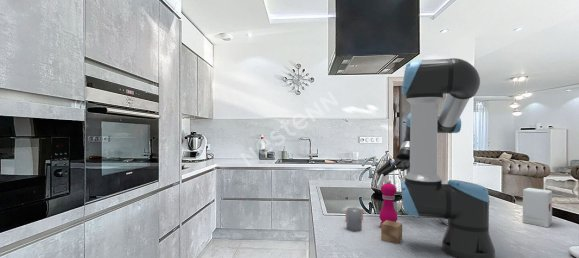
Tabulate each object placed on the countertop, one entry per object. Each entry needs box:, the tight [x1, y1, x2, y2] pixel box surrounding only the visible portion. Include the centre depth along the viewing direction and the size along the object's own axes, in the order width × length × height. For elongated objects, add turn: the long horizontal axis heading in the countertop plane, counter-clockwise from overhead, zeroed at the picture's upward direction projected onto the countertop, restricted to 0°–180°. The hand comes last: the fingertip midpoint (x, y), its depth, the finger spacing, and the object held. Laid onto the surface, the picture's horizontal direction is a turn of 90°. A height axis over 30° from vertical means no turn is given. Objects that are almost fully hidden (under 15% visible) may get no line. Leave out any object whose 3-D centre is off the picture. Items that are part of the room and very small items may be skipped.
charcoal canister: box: [346, 207, 363, 233], centre depth 119 cm, size 6×6×8 cm
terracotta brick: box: [345, 207, 364, 223], centre depth 130 cm, size 4×8×5 cm, turn 136°
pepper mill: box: [378, 179, 398, 228], centre depth 121 cm, size 7×7×20 cm
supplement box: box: [522, 187, 553, 228], centre depth 130 cm, size 9×9×15 cm
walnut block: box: [380, 220, 403, 245], centre depth 108 cm, size 6×6×6 cm
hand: (392, 189), depth 126 cm, fingers open, 13 cm apart
